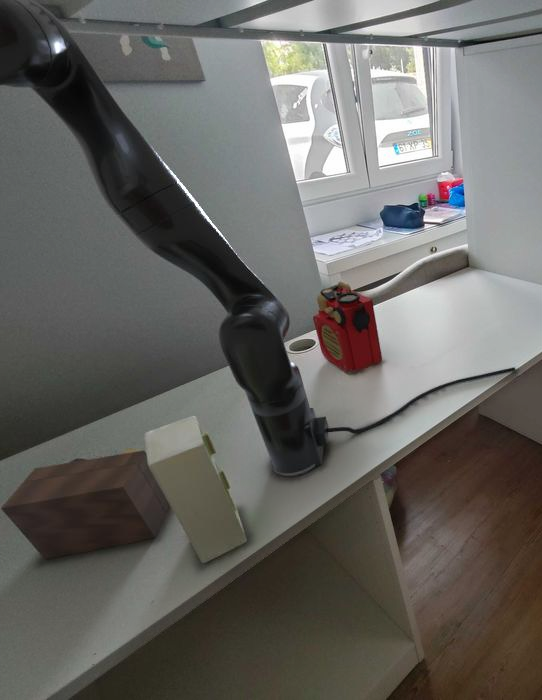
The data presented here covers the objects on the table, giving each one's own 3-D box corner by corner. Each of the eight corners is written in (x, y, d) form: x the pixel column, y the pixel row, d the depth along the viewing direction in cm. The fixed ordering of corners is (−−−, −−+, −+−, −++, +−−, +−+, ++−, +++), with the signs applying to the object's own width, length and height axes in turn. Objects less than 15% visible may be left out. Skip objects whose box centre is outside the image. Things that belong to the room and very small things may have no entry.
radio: (321, 356, 119) (303, 287, 109) (353, 342, 125) (339, 275, 115) (352, 378, 109) (336, 305, 99) (386, 362, 115) (374, 291, 105)
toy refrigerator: (253, 539, 71) (208, 441, 60) (203, 565, 67) (145, 465, 57) (242, 507, 76) (199, 412, 66) (195, 530, 73) (142, 432, 62)
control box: (178, 488, 81) (151, 439, 75) (155, 538, 72) (122, 486, 66) (81, 505, 79) (45, 456, 72) (44, 559, 69) (0, 508, 63)
